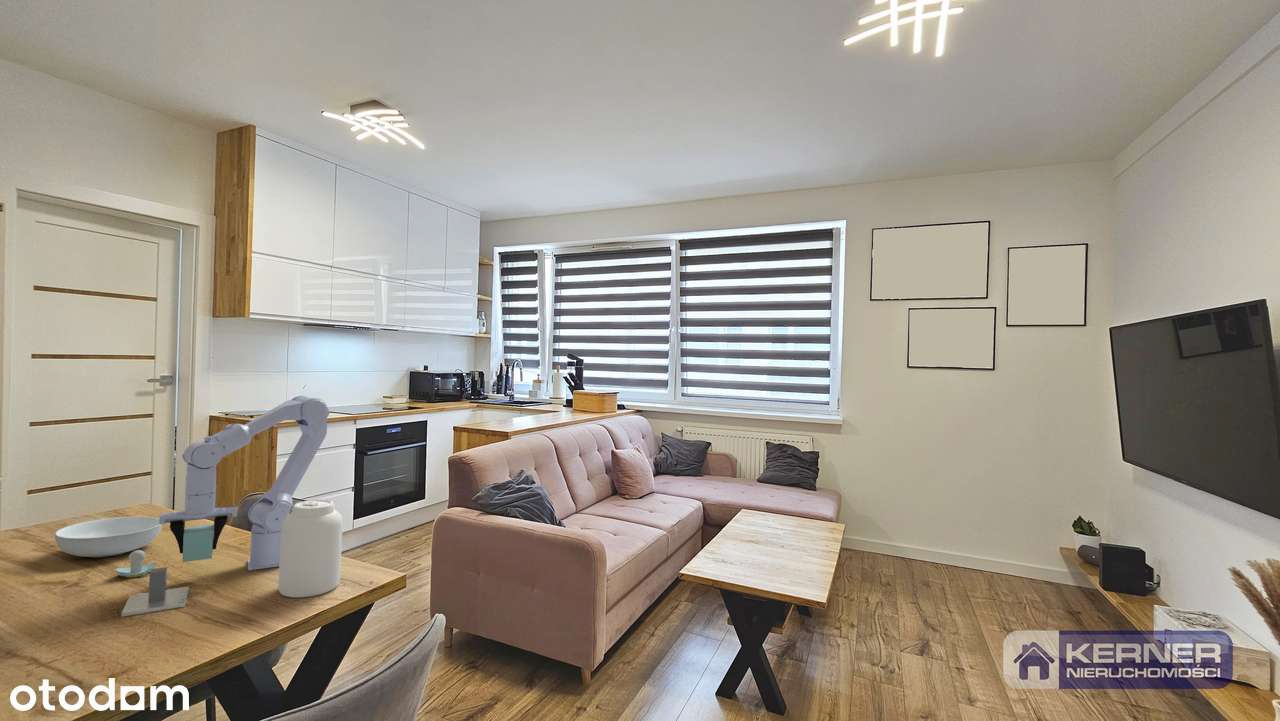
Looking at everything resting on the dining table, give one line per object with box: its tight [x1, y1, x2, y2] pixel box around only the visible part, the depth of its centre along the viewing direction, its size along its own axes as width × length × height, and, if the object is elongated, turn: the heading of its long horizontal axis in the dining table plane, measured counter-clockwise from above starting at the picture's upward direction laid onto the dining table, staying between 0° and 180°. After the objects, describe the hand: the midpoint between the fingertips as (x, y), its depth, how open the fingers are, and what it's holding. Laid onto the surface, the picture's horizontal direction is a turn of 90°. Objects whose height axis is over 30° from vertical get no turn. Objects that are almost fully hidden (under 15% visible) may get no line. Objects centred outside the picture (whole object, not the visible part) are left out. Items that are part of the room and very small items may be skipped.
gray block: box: [120, 566, 190, 618], centre depth 121 cm, size 10×10×7 cm
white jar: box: [277, 499, 344, 598], centre depth 132 cm, size 12×12×20 cm
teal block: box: [182, 523, 214, 563], centre depth 134 cm, size 5×5×7 cm
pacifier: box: [115, 549, 158, 578], centre depth 136 cm, size 7×6×6 cm
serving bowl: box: [54, 516, 164, 558], centre depth 150 cm, size 21×21×7 cm
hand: (198, 550), depth 134 cm, fingers closed on teal block, 5 cm apart
